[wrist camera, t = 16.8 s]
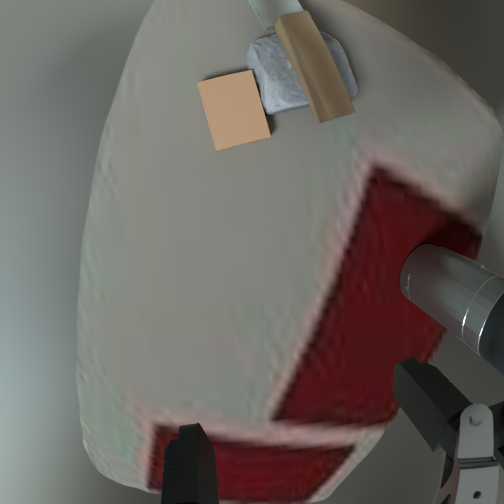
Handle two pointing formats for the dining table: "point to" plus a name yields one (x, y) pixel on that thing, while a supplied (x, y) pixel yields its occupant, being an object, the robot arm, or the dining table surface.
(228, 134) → the tile
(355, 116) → the dining table surface
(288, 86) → the stone block
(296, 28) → the spatula
